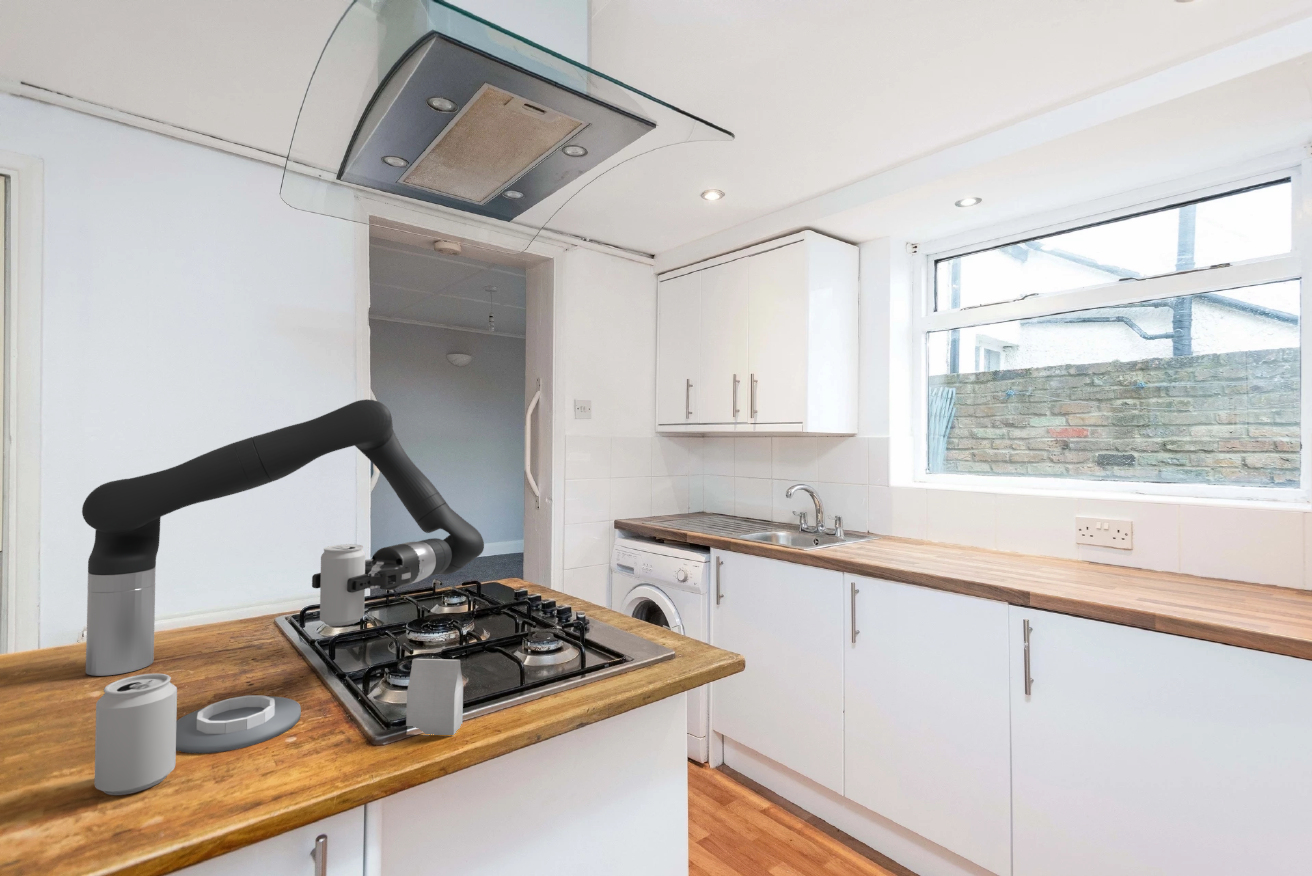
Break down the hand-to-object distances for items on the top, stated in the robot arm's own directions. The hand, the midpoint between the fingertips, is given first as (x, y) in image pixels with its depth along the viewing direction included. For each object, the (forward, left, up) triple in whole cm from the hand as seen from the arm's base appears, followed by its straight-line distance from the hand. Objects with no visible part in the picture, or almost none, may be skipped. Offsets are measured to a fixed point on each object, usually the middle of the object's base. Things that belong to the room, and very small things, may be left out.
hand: (331, 583), depth 99 cm
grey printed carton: (+17, +12, -19) cm, 28 cm away
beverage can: (-2, +2, -7) cm, 7 cm away
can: (+14, -22, -19) cm, 32 cm away
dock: (+2, -12, -19) cm, 22 cm away
